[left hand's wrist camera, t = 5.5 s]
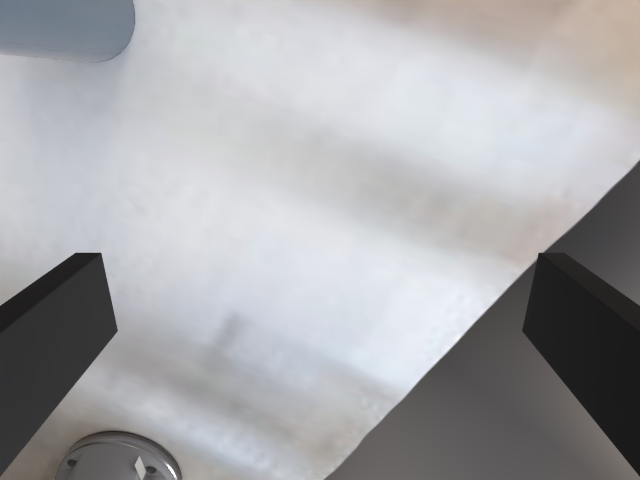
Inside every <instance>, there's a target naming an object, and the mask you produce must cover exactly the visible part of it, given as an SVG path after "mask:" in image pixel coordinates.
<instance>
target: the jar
mask: <svg viewBox="0 0 640 480" xmlns="http://www.w3.org/2000/svg"><path fill="white" fill-rule="evenodd" d="M134 23H135V12H134V5H133V1H132V0H0V55H11V56H24V57H36V58H48V59H60V60H73V61H85V62H102V61H106V60H109V59H111V58H114V57H115V56H117V55H118V54H119V53H121V52H122V51H123V50H124V48H125V47H126V46H127V44H128V43H129V41H130V39H131V36H132V33H133V29H134Z"/></svg>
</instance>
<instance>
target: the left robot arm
mask: <svg viewBox="0 0 640 480" xmlns="http://www.w3.org/2000/svg"><path fill="white" fill-rule="evenodd" d="M117 331H118V330H117V325H116V320H115V316H114V311H113V306H112V302H111V297H110V292H109V287H108V283H107V278H106V273H105V268H104V264H103V259H102V254H101V253H75V254H73V255H72V256H70V257H69V258H68V259H66V260H65V261H63V262H62V263H61V264H59V265H58V266H56V267H55V268H53V269H52V270H51V271H49V272H48V273H46V274H45V275H43V276H42V277H41V278H39V279H38V280H36V281H35V282H34V283H32V284H31V285H29V286H28V287H26V288H25V289H24V290H22V291H21V292H19V293H18V294H17V295H15V296H14V297H12V298H11V299H9V300H8V301H7V302H5V303H4V304H2V305H1V306H0V476H1V475H2V474H3V472H4V471H5V470H6V469H7V467H8V466H9V465H10V464H11V463H12V461H13V460H14V459H15V458H16V456H17V455H18V454H19V453H20V451H21V450H22V449H23V448H24V446H25V445H26V444H27V443H28V441H29V440H30V439H31V438H32V437H33V435H34V434H35V433H36V432H37V430H38V429H39V428H40V427H41V425H42V424H43V423H44V422H45V420H46V419H47V418H48V417H49V415H50V414H51V413H52V412H53V411H54V409H55V408H56V407H57V406H58V404H59V403H60V402H61V401H62V399H63V398H64V397H65V396H66V394H67V393H68V392H69V391H70V390H71V388H72V387H73V386H74V385H75V383H76V382H77V381H78V380H79V378H80V377H81V376H82V375H83V373H84V372H85V371H86V370H87V368H88V367H89V366H90V365H91V364H92V362H93V361H94V360H95V359H96V357H97V356H98V355H99V354H100V352H101V351H102V350H103V349H104V347H105V346H106V345H107V344H108V342H109V341H110V340H111V339H112V338H113V336H114V335H115V334H116V333H117ZM522 331H523V333H524V334H525V335H526V336H527V337H528V339H529V340H530V341H531V342H532V344H533V345H534V346H535V347H536V349H537V350H538V351H539V352H540V354H541V355H542V356H543V357H544V359H545V360H546V361H547V362H548V364H549V365H550V366H551V367H552V368H553V370H554V371H555V372H556V373H557V375H558V376H559V377H560V378H561V380H562V381H563V382H564V383H565V385H566V386H567V387H568V388H569V389H570V391H571V392H572V393H573V394H574V396H575V397H576V398H577V399H578V401H579V402H580V403H581V404H582V406H583V407H584V408H585V409H586V410H587V412H588V413H589V414H590V415H591V417H592V418H593V419H594V420H595V422H596V423H597V424H598V425H599V427H600V428H601V429H602V430H603V431H604V433H605V434H606V435H607V436H608V438H609V439H610V440H611V441H612V443H613V444H614V445H615V446H616V448H617V449H618V450H619V451H620V453H621V454H622V455H623V456H624V458H625V459H626V460H627V461H628V463H629V464H630V465H631V466H632V467H633V469H634V470H635V471H636V472H637V474H638V475H639V476H640V306H639V305H638V304H636V303H635V302H633V301H632V300H631V299H629V298H628V297H626V296H625V295H623V294H622V293H621V292H619V291H618V290H616V289H615V288H614V287H612V286H611V285H609V284H608V283H606V282H605V281H604V280H602V279H601V278H599V277H598V276H597V275H595V274H594V273H592V272H591V271H589V270H588V269H587V268H585V267H584V266H582V265H581V264H579V263H578V262H577V261H575V260H574V259H572V258H571V257H570V256H568V255H567V254H565V253H539V254H538V259H537V264H536V269H535V273H534V278H533V283H532V287H531V292H530V297H529V302H528V306H527V311H526V316H525V321H524V325H523V330H522Z"/></svg>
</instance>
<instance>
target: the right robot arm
mask: <svg viewBox="0 0 640 480" xmlns="http://www.w3.org/2000/svg"><path fill="white" fill-rule="evenodd" d="M55 480H182V479H181V473H180V470H179V467H178V465H177V464H176V462H175V460H174V459H173V458H172V457H171V456H170V455H169V453H168V452H166V451H165V450H164V449H163V448H161V447H160V446H159V445H157V444H155V443H154V442H152V441H150V440H148V439H145V438H143V437H140V436H137V435H133V434H128V433H121V432H105V433H98V434H94V435H91V436H88V437H86V438H84V439H82V440H80V441H78V442H77V443H76V444H75V445H74V446H73V447H72V448H71V449H70V450H69V452H68V453H67V455H66V456H65V458H64V459H63V460H62V462H61V464H60V466H59V468H58V471H57V474H56V477H55Z"/></svg>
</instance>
